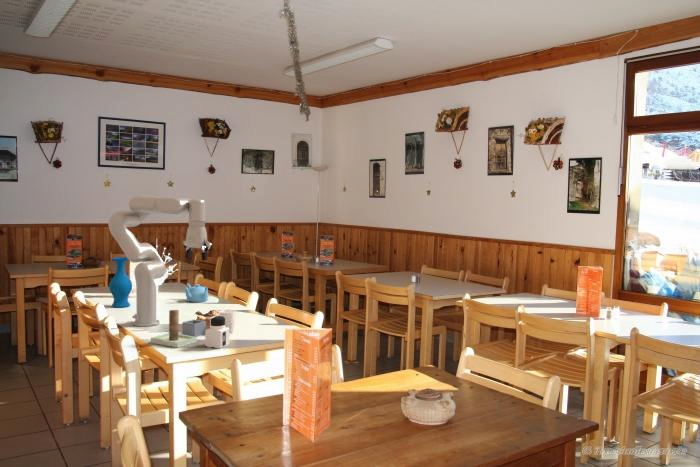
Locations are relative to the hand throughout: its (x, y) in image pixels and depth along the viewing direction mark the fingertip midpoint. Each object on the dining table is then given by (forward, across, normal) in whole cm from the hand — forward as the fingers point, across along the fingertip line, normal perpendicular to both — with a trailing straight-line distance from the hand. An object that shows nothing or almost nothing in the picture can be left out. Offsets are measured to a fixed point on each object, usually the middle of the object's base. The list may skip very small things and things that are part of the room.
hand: (196, 259), depth 295 cm
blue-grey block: (+34, +7, -9) cm, 36 cm away
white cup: (+34, +16, +4) cm, 38 cm away
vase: (+34, -75, +18) cm, 84 cm away
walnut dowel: (+33, +10, -25) cm, 43 cm away
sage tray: (+34, +10, -25) cm, 44 cm away
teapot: (+35, -52, +55) cm, 83 cm away
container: (+34, +30, -19) cm, 49 cm away
